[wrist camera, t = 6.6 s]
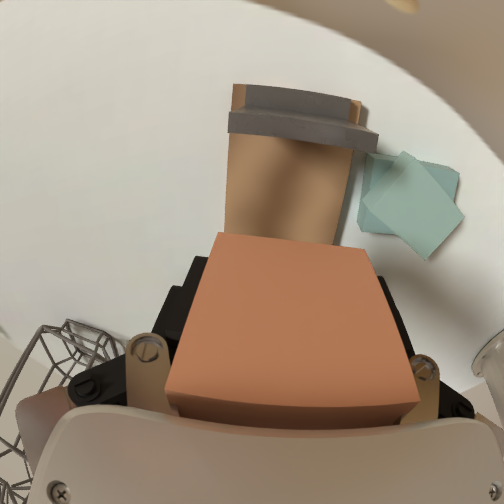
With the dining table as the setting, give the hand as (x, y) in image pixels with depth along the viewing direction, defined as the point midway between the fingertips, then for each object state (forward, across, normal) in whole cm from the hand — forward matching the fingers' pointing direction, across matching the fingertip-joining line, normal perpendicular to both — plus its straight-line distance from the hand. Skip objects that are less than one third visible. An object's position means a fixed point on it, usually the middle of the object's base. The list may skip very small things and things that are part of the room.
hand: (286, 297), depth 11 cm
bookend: (+11, 0, -7) cm, 13 cm away
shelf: (+13, 0, +1) cm, 13 cm away
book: (+1, 0, 0) cm, 1 cm away
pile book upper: (+11, -10, -1) cm, 15 cm away
